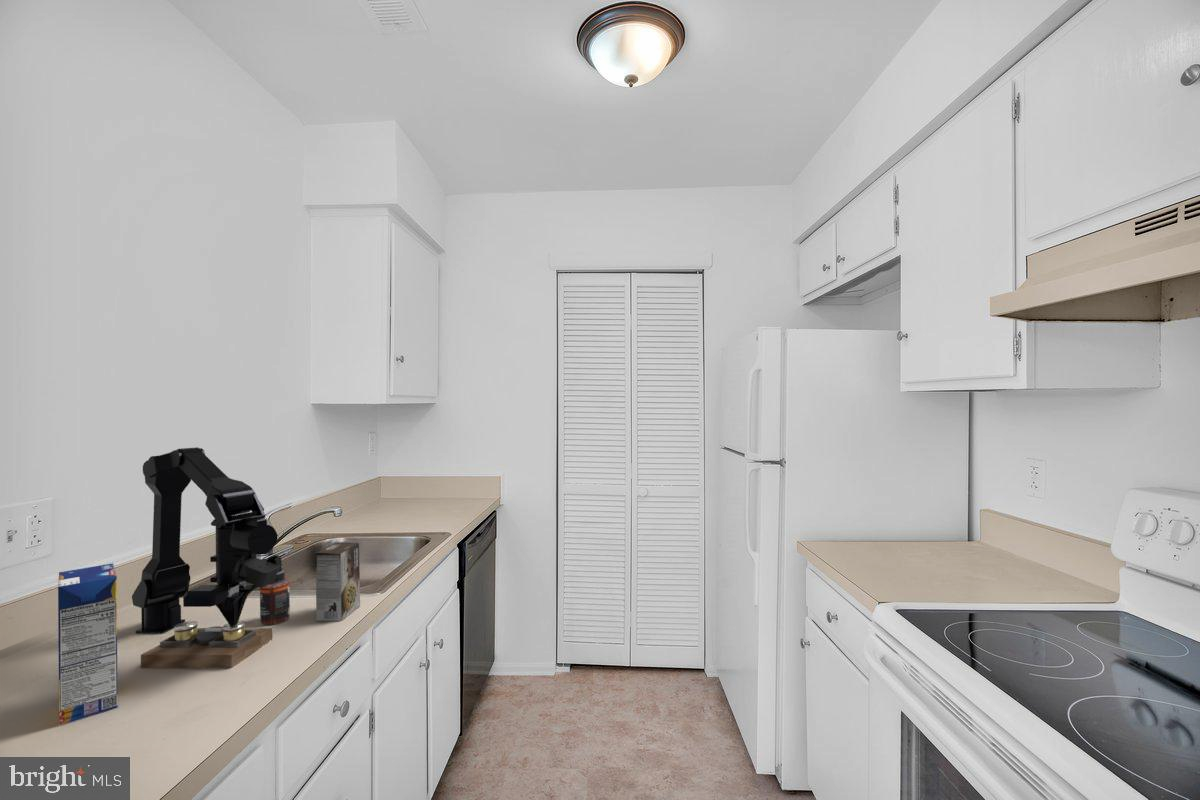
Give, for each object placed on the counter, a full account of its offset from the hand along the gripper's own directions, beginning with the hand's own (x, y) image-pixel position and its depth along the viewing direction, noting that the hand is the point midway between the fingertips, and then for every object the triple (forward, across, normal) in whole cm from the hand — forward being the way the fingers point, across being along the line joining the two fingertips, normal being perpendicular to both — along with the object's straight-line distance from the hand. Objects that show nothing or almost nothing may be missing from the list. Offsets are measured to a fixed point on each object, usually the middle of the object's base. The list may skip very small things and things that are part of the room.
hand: (233, 624), depth 107 cm
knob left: (+6, 0, +10) cm, 11 cm away
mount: (+6, 0, +5) cm, 8 cm away
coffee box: (+6, +20, -11) cm, 24 cm away
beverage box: (+6, -18, +12) cm, 22 cm away
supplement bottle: (+6, +16, +2) cm, 17 cm away
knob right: (+6, 0, 0) cm, 6 cm away
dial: (+3, 0, +5) cm, 6 cm away
